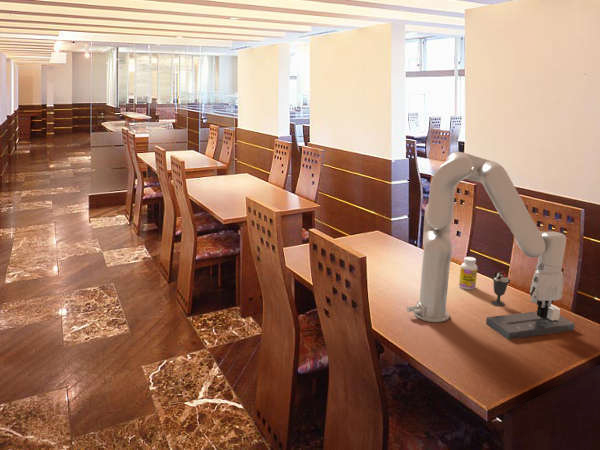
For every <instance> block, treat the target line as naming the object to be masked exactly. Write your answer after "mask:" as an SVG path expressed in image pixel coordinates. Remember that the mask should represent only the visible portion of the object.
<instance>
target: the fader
mask: <svg viewBox="0 0 600 450" xmlns="http://www.w3.org/2000/svg"><path fill="white" fill-rule="evenodd" d="M559 316H561V309H560V308H559V307H558V306H556V305H553V303H551V306H550V307H548V313H547V318H548V319H550V320H559Z"/></svg>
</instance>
